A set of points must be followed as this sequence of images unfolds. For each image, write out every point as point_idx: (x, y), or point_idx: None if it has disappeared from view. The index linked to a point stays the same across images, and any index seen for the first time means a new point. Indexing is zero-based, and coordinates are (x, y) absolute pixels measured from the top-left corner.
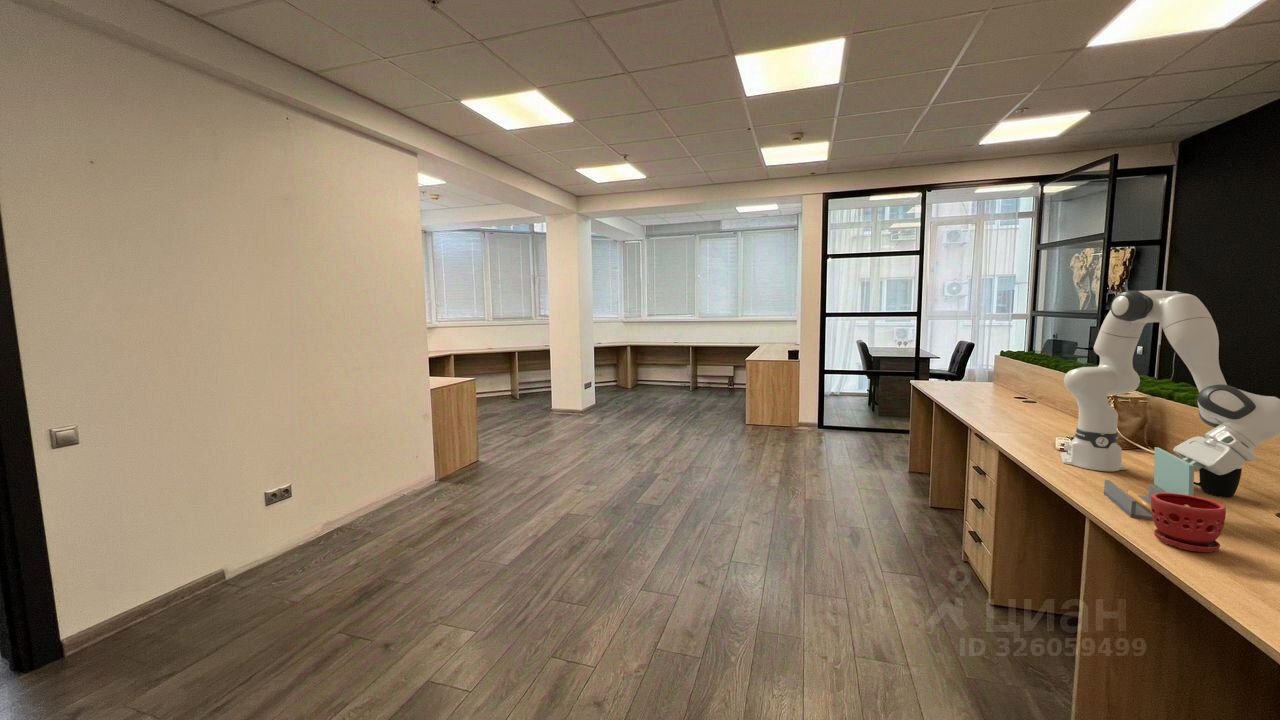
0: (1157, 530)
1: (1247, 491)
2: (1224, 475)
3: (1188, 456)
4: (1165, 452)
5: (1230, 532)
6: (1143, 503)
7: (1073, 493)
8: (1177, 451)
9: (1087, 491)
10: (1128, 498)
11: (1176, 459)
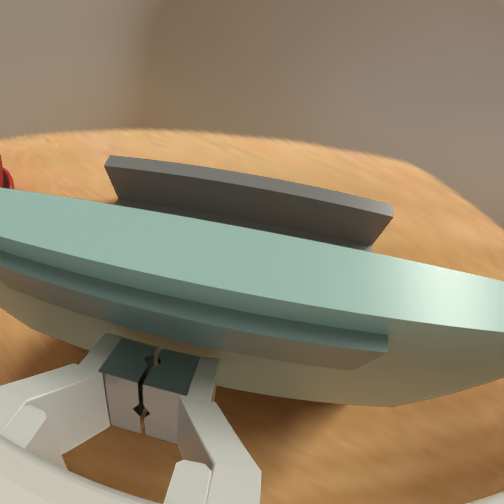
0: (4, 176)
1: None
2: None
3: (111, 495)
4: (397, 272)
5: None
6: None
7: (335, 155)
8: (501, 496)
9: None
10: (139, 159)
11: (10, 194)
